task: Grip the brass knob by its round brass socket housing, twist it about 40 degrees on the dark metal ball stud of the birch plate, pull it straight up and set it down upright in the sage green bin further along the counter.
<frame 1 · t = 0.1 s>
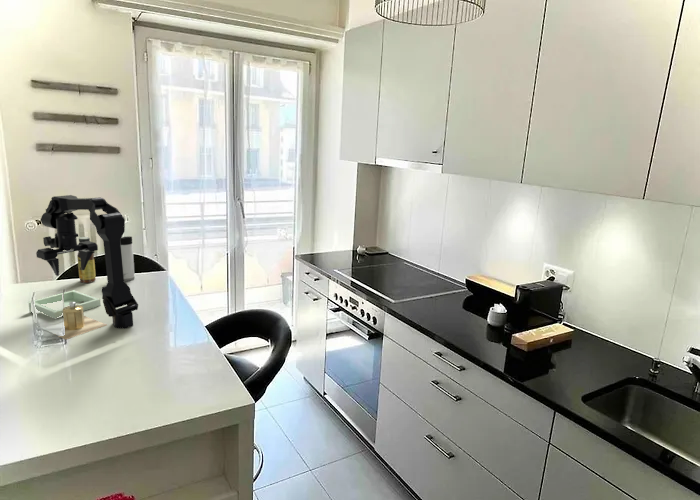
hand: (70, 272, 164), 15 cm above the kitchen island, fingers open, 9 cm apart
travel mug: (127, 279, 204), on the kitchen island
bin: (66, 310, 167), on the kitchen island
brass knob: (74, 326, 151), point 1 cm above the kitchen island, touching stud plate
stud plate: (75, 330, 151), on the kitchen island
sauce bottle: (87, 281, 199), on the kitchen island
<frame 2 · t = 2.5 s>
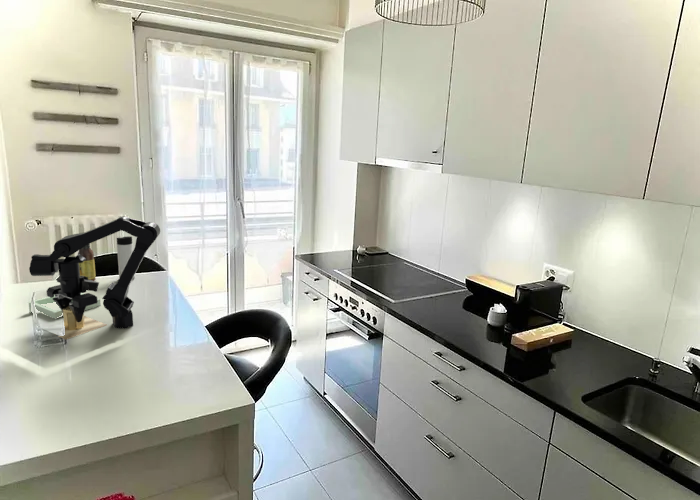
hand: (74, 319, 150), 4 cm above the kitchen island, fingers closed on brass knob, 5 cm apart
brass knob: (74, 326, 151), point 1 cm above the kitchen island, touching gripper, stud plate
everything else where it was.
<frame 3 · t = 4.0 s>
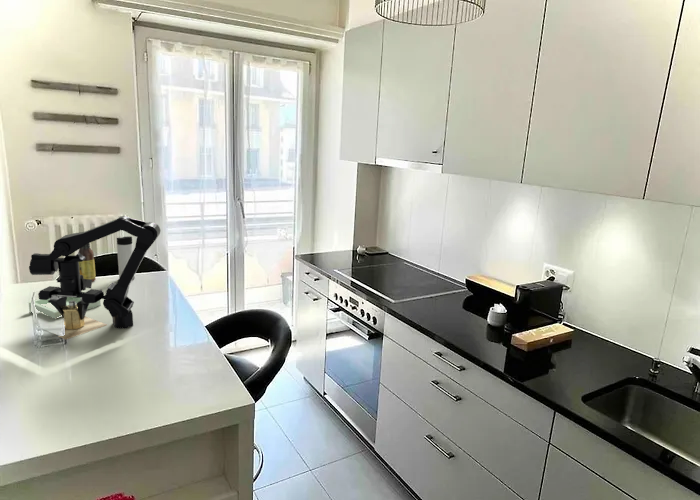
hand: (74, 318, 150), 4 cm above the kitchen island, fingers closed on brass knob, 5 cm apart
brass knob: (74, 325, 151), point 2 cm above the kitchen island, touching gripper
everything else where it was.
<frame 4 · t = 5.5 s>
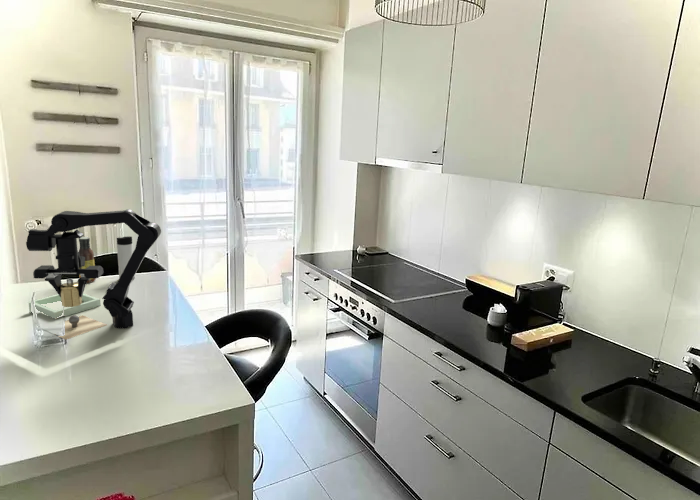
hand: (71, 296, 148), 12 cm above the kitchen island, fingers closed on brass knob, 5 cm apart
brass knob: (72, 304, 149), point 10 cm above the kitchen island, touching gripper
everything else where it was.
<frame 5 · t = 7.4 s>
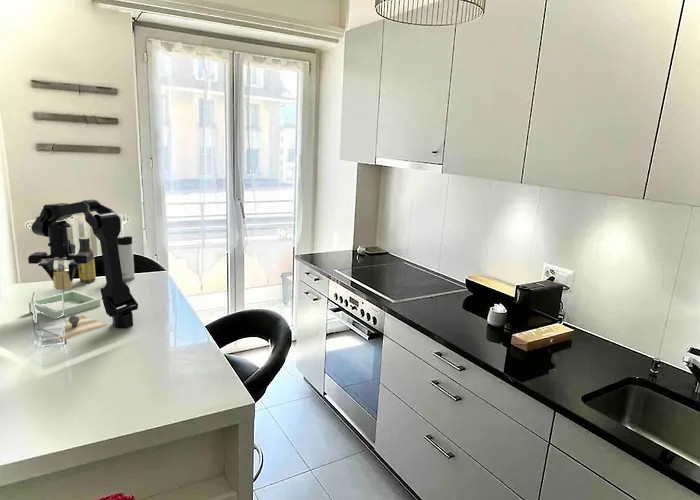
hand: (63, 280, 164), 12 cm above the kitchen island, fingers closed on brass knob, 5 cm apart
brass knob: (63, 287, 164), point 9 cm above the kitchen island, touching gripper
everything else where it was.
when the fingers open (5 cm above the kitchen island, at t = 8.8 s): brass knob drops 2 cm, resting on bin.
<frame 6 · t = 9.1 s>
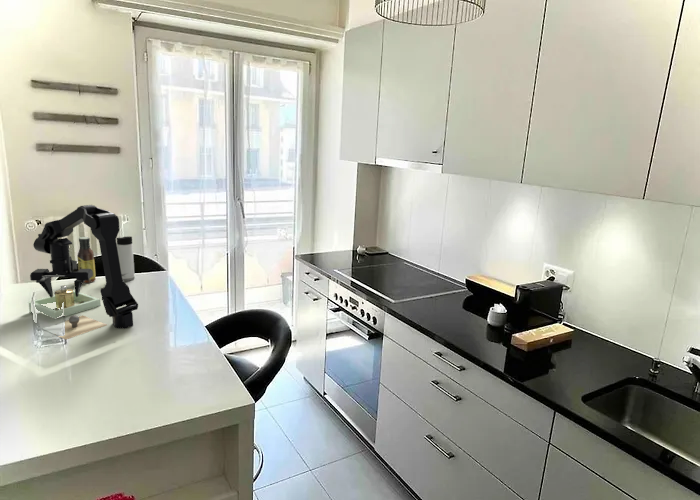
hand: (64, 296, 165), 5 cm above the kitchen island, fingers open, 8 cm apart
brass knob: (65, 308, 166), point 1 cm above the kitchen island, touching bin
everything else where it was.
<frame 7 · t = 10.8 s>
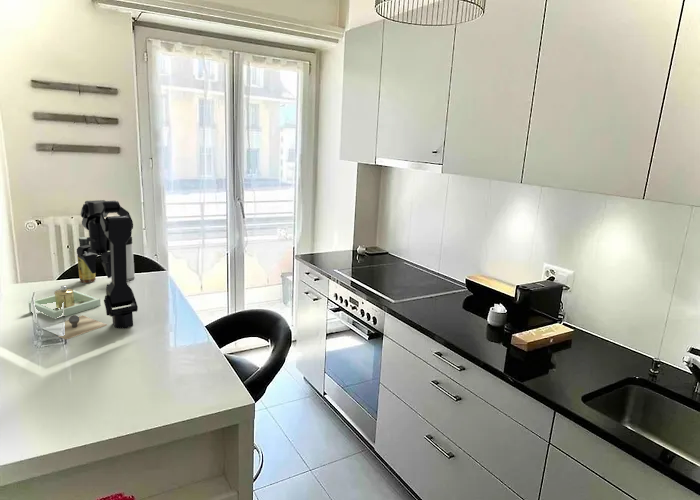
hand: (101, 275, 168), 13 cm above the kitchen island, fingers open, 9 cm apart
nothing on the kitchen island moved.
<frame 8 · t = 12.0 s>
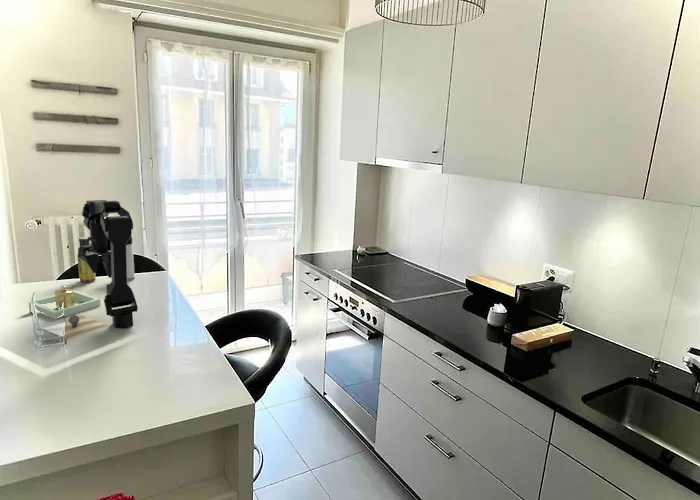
hand: (102, 275, 169), 13 cm above the kitchen island, fingers open, 9 cm apart
nothing on the kitchen island moved.
at the end: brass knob inside the target area on the bin (0.1 cm from its centre), point 1.0 cm above the bin's base; the gripper is holding nothing; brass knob tilted 0° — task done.
